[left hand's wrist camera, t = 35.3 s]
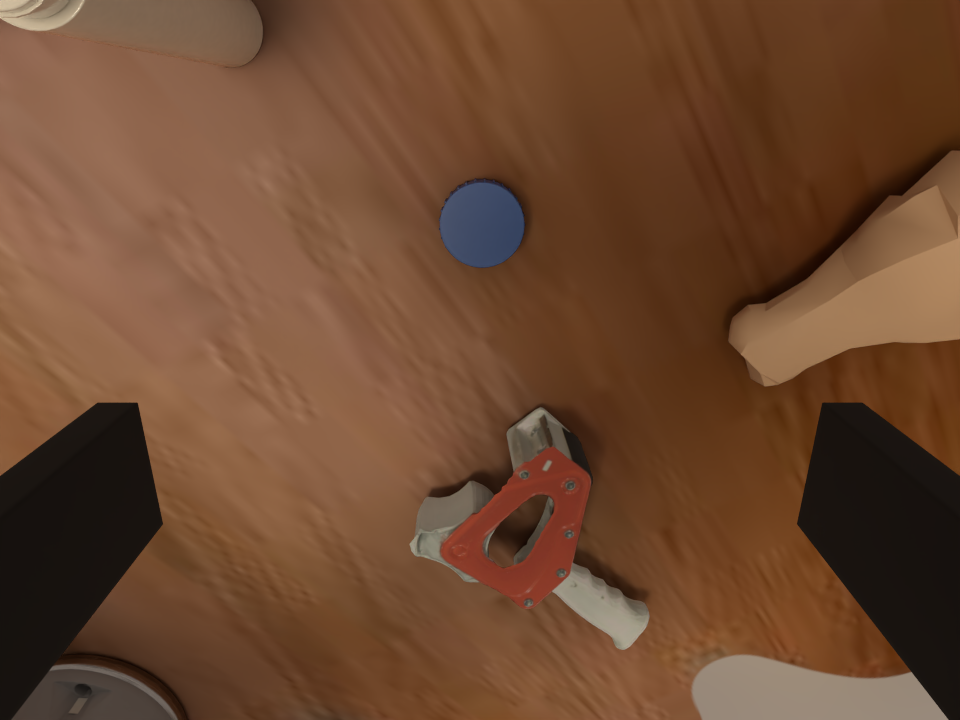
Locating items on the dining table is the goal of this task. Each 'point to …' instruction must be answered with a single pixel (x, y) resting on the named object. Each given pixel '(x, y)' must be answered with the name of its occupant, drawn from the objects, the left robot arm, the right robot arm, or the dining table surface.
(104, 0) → the cream plastic cylinder
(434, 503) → the tape dispenser
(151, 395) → the dining table surface
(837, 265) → the squash
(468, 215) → the lid
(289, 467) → the dining table surface
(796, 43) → the dining table surface
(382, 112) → the dining table surface
